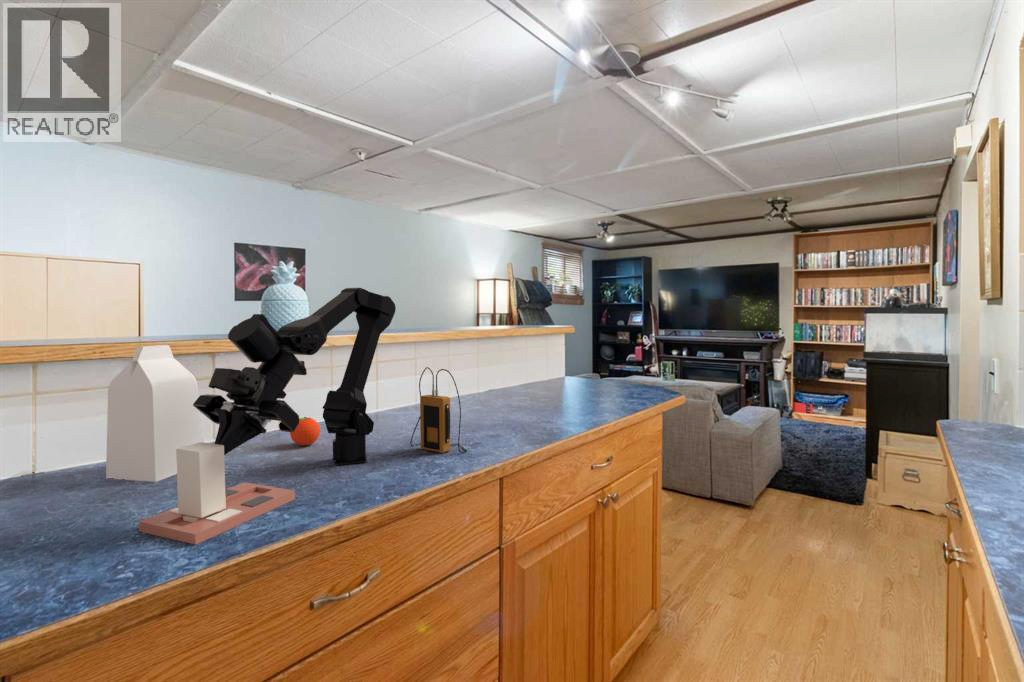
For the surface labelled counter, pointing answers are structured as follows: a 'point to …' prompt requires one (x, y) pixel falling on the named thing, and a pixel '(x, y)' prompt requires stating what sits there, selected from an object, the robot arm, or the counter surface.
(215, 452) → the switch tab
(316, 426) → the clementine
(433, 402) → the multimeter
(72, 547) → the counter surface
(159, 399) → the milk
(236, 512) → the switch block
